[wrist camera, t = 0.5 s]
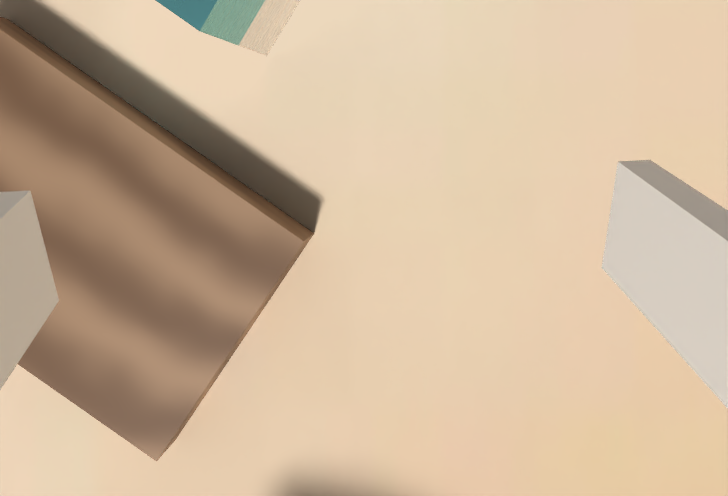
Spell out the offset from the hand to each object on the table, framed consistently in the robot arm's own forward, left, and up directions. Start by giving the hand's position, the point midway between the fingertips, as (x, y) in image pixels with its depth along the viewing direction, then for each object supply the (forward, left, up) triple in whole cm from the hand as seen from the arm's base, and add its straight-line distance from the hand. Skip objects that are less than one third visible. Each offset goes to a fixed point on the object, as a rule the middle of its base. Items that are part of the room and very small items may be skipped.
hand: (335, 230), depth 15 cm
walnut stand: (+16, -14, -26) cm, 34 cm away
